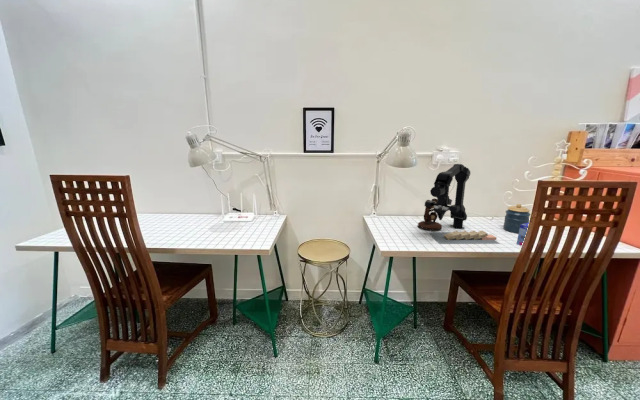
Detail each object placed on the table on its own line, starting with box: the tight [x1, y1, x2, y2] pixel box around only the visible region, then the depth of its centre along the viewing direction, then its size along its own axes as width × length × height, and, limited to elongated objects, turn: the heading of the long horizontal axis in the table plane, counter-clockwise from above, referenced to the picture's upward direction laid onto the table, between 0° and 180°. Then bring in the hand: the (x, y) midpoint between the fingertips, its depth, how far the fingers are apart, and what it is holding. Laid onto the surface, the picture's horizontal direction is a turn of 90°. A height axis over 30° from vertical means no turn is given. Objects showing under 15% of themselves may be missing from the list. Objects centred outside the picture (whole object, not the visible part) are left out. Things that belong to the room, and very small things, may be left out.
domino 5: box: [480, 233, 497, 241], centre depth 158 cm, size 2×5×8 cm
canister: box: [502, 203, 532, 234], centre depth 170 cm, size 13×13×18 cm
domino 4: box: [472, 229, 488, 240], centre depth 158 cm, size 2×5×8 cm
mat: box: [426, 231, 501, 245], centre depth 160 cm, size 19×34×1 cm, turn 89°
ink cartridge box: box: [516, 223, 529, 246], centre depth 147 cm, size 10×6×14 cm, turn 114°
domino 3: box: [463, 230, 479, 240], centre depth 158 cm, size 2×5×8 cm
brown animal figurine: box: [417, 197, 443, 232], centre depth 176 cm, size 15×15×20 cm
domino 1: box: [444, 230, 461, 240], centre depth 158 cm, size 2×5×8 cm
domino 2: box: [454, 230, 470, 240], centre depth 158 cm, size 2×5×8 cm
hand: (440, 220), depth 158 cm, fingers closed
